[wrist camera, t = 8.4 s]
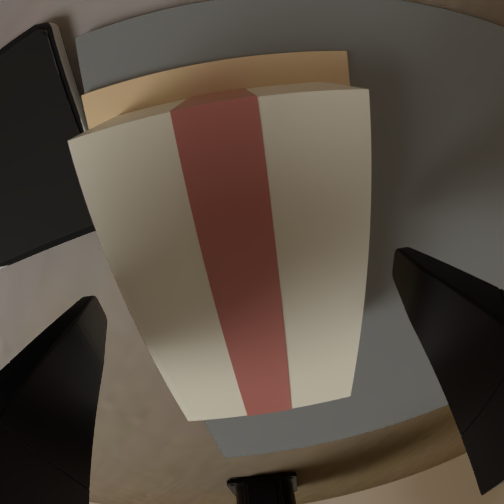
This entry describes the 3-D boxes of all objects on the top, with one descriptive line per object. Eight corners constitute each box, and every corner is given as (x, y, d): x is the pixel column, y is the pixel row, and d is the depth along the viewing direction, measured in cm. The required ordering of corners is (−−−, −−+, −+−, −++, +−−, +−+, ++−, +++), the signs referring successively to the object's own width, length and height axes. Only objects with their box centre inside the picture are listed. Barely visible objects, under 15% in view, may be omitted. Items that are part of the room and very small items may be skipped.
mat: (460, 393, 21) (464, 400, 21) (224, 452, 21) (224, 461, 20) (547, 47, 8) (559, 49, 7) (81, 38, 8) (70, 37, 7)
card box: (117, 114, 8) (66, 140, 5) (318, 80, 8) (368, 88, 5) (191, 353, 14) (188, 421, 11) (327, 331, 14) (350, 396, 11)
